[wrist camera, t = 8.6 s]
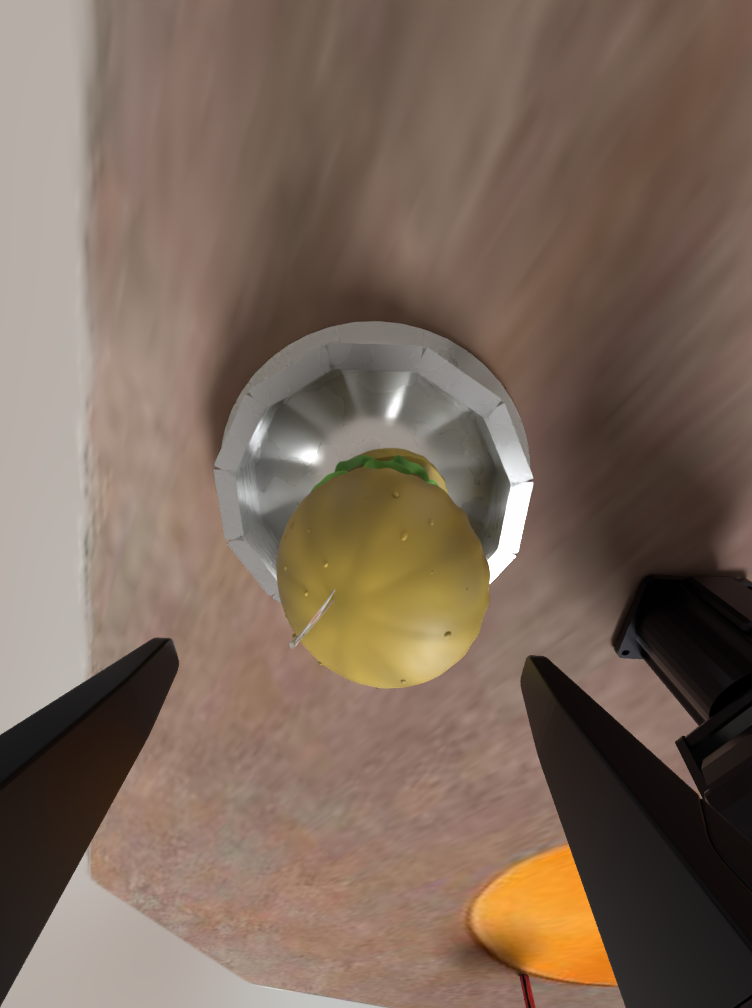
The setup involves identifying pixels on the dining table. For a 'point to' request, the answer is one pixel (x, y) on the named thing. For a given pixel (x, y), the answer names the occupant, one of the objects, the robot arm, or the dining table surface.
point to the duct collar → (370, 434)
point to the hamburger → (383, 572)
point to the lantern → (527, 991)
